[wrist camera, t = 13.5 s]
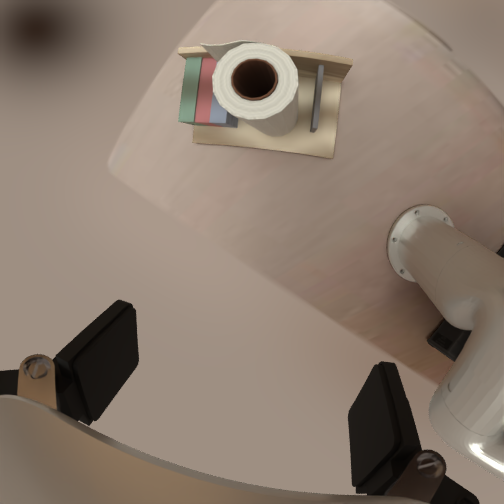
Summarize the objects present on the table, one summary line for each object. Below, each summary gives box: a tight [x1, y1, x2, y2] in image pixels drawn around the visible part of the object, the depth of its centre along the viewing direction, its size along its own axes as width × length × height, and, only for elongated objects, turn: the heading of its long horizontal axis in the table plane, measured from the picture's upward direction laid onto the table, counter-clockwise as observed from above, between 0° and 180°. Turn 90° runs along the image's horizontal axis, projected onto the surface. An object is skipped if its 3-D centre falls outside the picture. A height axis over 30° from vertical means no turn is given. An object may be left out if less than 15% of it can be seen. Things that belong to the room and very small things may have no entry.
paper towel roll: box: [200, 40, 299, 137], centre depth 27 cm, size 7×6×21 cm
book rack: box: [178, 46, 353, 159], centre depth 34 cm, size 12×20×10 cm, turn 84°
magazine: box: [427, 246, 504, 362], centre depth 37 cm, size 17×3×30 cm
